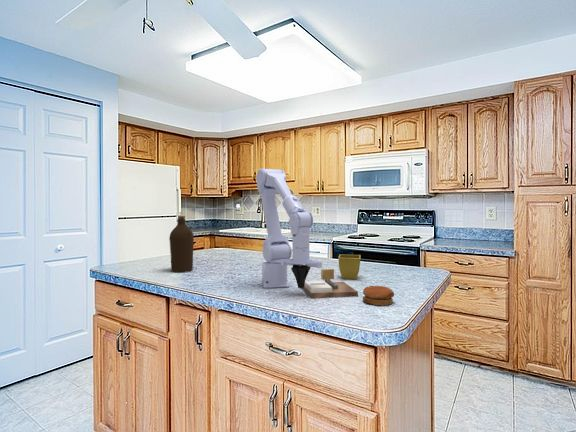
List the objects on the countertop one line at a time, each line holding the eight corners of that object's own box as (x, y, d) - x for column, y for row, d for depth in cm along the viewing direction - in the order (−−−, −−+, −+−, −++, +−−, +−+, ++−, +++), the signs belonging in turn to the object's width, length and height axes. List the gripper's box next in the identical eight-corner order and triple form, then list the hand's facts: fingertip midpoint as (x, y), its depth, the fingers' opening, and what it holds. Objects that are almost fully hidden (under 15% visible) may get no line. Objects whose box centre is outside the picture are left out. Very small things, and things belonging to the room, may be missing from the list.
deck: (310, 298, 115) (310, 293, 115) (301, 287, 130) (301, 283, 130) (357, 296, 118) (357, 291, 118) (343, 285, 133) (343, 281, 133)
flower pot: (360, 280, 142) (360, 258, 141) (338, 279, 143) (338, 257, 143) (360, 276, 150) (360, 254, 150) (339, 275, 152) (339, 254, 152)
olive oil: (196, 268, 169) (196, 215, 168) (189, 273, 158) (189, 216, 157) (174, 268, 169) (174, 215, 168) (166, 272, 158) (165, 216, 158)
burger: (386, 308, 105) (386, 292, 105) (357, 303, 110) (357, 288, 110) (398, 300, 113) (398, 286, 113) (370, 296, 118) (370, 282, 118)
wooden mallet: (330, 289, 121) (330, 274, 121) (320, 282, 131) (320, 269, 130) (342, 288, 122) (342, 273, 122) (332, 282, 132) (332, 268, 131)
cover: (311, 292, 116) (311, 287, 116) (304, 285, 126) (304, 280, 126) (332, 291, 117) (332, 286, 117) (324, 285, 127) (324, 279, 127)
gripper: (325, 247, 121) (325, 287, 121) (287, 245, 127) (287, 283, 128) (317, 249, 114) (317, 291, 115) (277, 247, 121) (277, 287, 121)
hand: (301, 287), depth 121 cm, fingers closed
